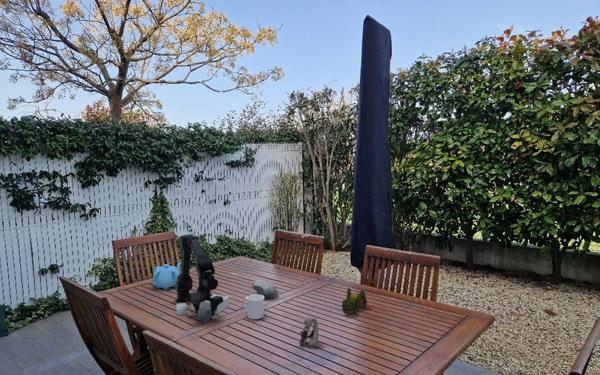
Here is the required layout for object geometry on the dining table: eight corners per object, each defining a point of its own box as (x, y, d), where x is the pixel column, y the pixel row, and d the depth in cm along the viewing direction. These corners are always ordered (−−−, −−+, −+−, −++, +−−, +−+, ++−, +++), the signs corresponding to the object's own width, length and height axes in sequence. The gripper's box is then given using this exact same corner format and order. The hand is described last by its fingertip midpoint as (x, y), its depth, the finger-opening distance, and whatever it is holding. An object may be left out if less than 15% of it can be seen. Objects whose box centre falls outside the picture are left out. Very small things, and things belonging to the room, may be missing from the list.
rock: (270, 305, 217) (268, 289, 214) (249, 297, 227) (247, 282, 224) (282, 296, 225) (280, 280, 222) (261, 288, 235) (259, 274, 232)
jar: (174, 314, 197) (174, 305, 197) (180, 311, 202) (180, 302, 202) (182, 316, 196) (181, 306, 195) (188, 312, 200) (188, 303, 200)
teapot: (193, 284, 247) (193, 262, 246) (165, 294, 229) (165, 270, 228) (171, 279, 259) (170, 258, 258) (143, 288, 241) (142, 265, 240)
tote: (190, 309, 205) (190, 299, 205) (203, 302, 215) (203, 292, 215) (217, 313, 198) (217, 303, 198) (229, 306, 209) (228, 296, 208)
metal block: (197, 319, 192) (197, 309, 191) (204, 315, 196) (203, 306, 196) (206, 321, 190) (205, 311, 189) (212, 317, 194) (212, 307, 194)
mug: (267, 314, 197) (267, 295, 196) (259, 321, 189) (259, 301, 188) (248, 312, 201) (247, 293, 200) (240, 318, 192) (239, 298, 192)
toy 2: (369, 303, 214) (370, 285, 213) (356, 319, 192) (356, 299, 191) (352, 300, 219) (352, 283, 218) (336, 315, 197) (337, 296, 196)
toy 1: (296, 339, 168) (305, 309, 168) (313, 343, 169) (322, 314, 169) (297, 348, 160) (307, 316, 159) (315, 352, 161) (325, 321, 160)
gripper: (178, 287, 188) (179, 318, 189) (210, 292, 181) (210, 324, 182) (193, 281, 198) (193, 310, 199) (223, 285, 191) (224, 315, 192)
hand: (205, 315), depth 193 cm, fingers open, 9 cm apart
